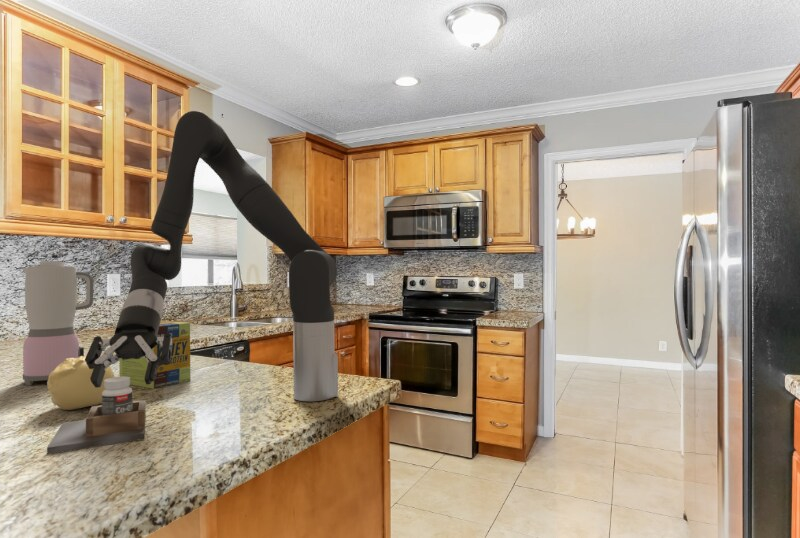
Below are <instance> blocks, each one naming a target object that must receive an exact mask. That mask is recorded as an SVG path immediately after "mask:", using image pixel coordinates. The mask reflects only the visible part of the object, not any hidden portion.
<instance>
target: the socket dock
mask: <svg viewBox="0 0 800 538" xmlns="http://www.w3.org/2000/svg"><path fill="white" fill-rule="evenodd" d="M146 418H147V412H146V399H144V400H143V399H142V400H134V401H133V400H132V412H126V413H118V414H110V415H103V416H102V404H101V405H100V404H99V405H93V406H91V408H90V409H89V412H88V414H87V416H86V417H85V419H81V420H75V421H67V422H66V421H65V422H62V423H61V425H60V426H59V428H58V429H57V431H56V432H55V434H54V436H53V438H52V439H51V441H50V442H49V444H48V446H47V447H46V454H47V455H50V454H57V453H64V452H70V451H76V450H82V449H89V448H90V449H91V448H95V447H102V446H107V445H108V446H110V445H116V444H122V443H123V444H124V443H127V442H133V441H134V442H135V441H141V440H145V434H146V433H145V432H146V420H147V419H146Z"/></svg>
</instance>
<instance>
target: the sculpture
mask: <svg viewBox="0 0 800 538" xmlns="http://www.w3.org/2000/svg"><path fill="white" fill-rule="evenodd" d="M85 358H86V355H84V357H83V356H80V357H79V358H76V359H75V358H67V359H66V360H65V361H64V362H63V363H61V364H60V365H59V366H57V367H56V368H55V370H54V371H53V372H51V374H50V375H49V379H48V380H46V381H47V382H46V384H47V390H48V391H49V392H48V394H49V396H50V400H51V403H52V404H53V405H55V406H57V407H58V408H60V409H61V410H63V411H72V410H78V409H81V408H87V407H92V406H98V405H100V404H101V405H102V392H103V391H104V390H106V389H105V388H104V380H105V379H108V378H113V377H115V374H114V372H113V369H112V368H111V365H110V366H109V367H108V368H106V369H105V374H104V377H103V381H102V384H101V387H97V388H95V386H94V385H93V384H92V382H91V379H90V378H91V375H92V372H93V369H89V367H88V365H87V364H86V362H85Z"/></svg>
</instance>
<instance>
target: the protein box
mask: <svg viewBox="0 0 800 538" xmlns="http://www.w3.org/2000/svg"><path fill="white" fill-rule="evenodd" d="M167 333H169V334H170V335H171V338H172V341H173V345H172V353H171V361H170V364H168V365H164V364H163V365H161V366H159V367H158V370H157V375H156V379H155V380H154V381H152V382H151V384H148V385H146V382H145V374H146V370H147V366H148V361H147V360H146V358H145V357H144V356H143V357H141V358H140V359H133V358H131V359H126V360H122V358H121V359H120V360H119V361H118V362H119V376H118V377H122V376H125V377H130V386H131V385H133V386H137V387H141V388H148V389H152V390H154V389H160V388H164V387H169V386H172V385H178V384H182V383H186V381H187V382H190V381H191V322H185V321H169V320H167V321H166V320H165V321H164V320H161V321H160V326H159V330H158V334H157V337H164V335H165V334H167ZM152 351H153V353H154V354H155V355H156V356H157V357H158V356H161V353H162V347H161V345H160V344H159V343H158V344H157V345H156V346H155V347H154V348H153V349H152Z"/></svg>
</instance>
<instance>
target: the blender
mask: <svg viewBox="0 0 800 538" xmlns="http://www.w3.org/2000/svg"><path fill="white" fill-rule="evenodd" d="M21 269H22V270H24V271H25V279H24V305H25V312H26V316H27V320H28V321H27V322H28V326H29V327H28V328H29V331H28V335H27V336H26V338H25V340H24V343H23V347H22V348H23V350H22V363H23V364H22V365H23V367H22V369H23V374H22V380H23V381H24V384H25V386H32V385H33V383H34V382H38V381H39V382H40V381H48V379H49V375H50V374H51V372H53V371H54V370H55V368H56V367H57V366H59V365H60V364H61V363H63V362H64V361H65V360H66V359H67V358H75V359H76V358H79V357H80V356H83V357H84V356H85V354H84V353H85V348H84V347H81V346H80V343H81V341H80V339H79V337H78V335H77V333H76V332H75V329H74V324H75V323H74V322H75V317H76V311H78V310H79V311H80V310H84V309H85V310H87V309H89V308H91V307H92V306H93V304H94V295H95V292H94V290H95V288H94V277H93V276H92V275H91V274H89V273H88V272H83V271H77V268H76V266H69V265H68V266H64V261H53V260H51V261H40V262H39V266H27V267H21ZM78 279H83V280H85V283H86V284H85V285H86V289H85V291H86V292H85V302H80V303H78Z"/></svg>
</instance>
